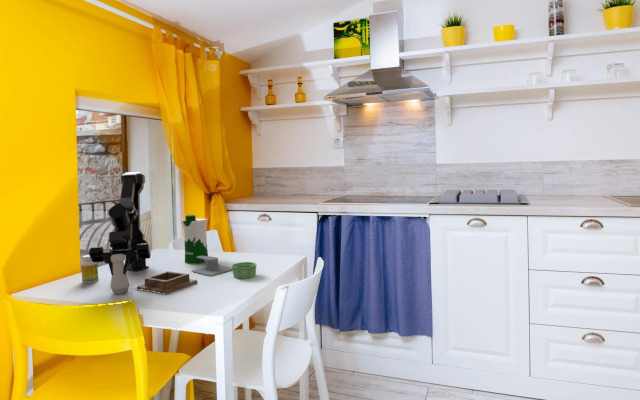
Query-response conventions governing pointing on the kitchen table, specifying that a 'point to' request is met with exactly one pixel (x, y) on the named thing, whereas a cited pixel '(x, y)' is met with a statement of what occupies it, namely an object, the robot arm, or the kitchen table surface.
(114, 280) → the salt shaker
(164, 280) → the collar socket
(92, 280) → the supplement bottle
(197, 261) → the milk carton
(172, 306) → the kitchen table surface
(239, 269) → the ramekin
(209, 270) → the shower valve
